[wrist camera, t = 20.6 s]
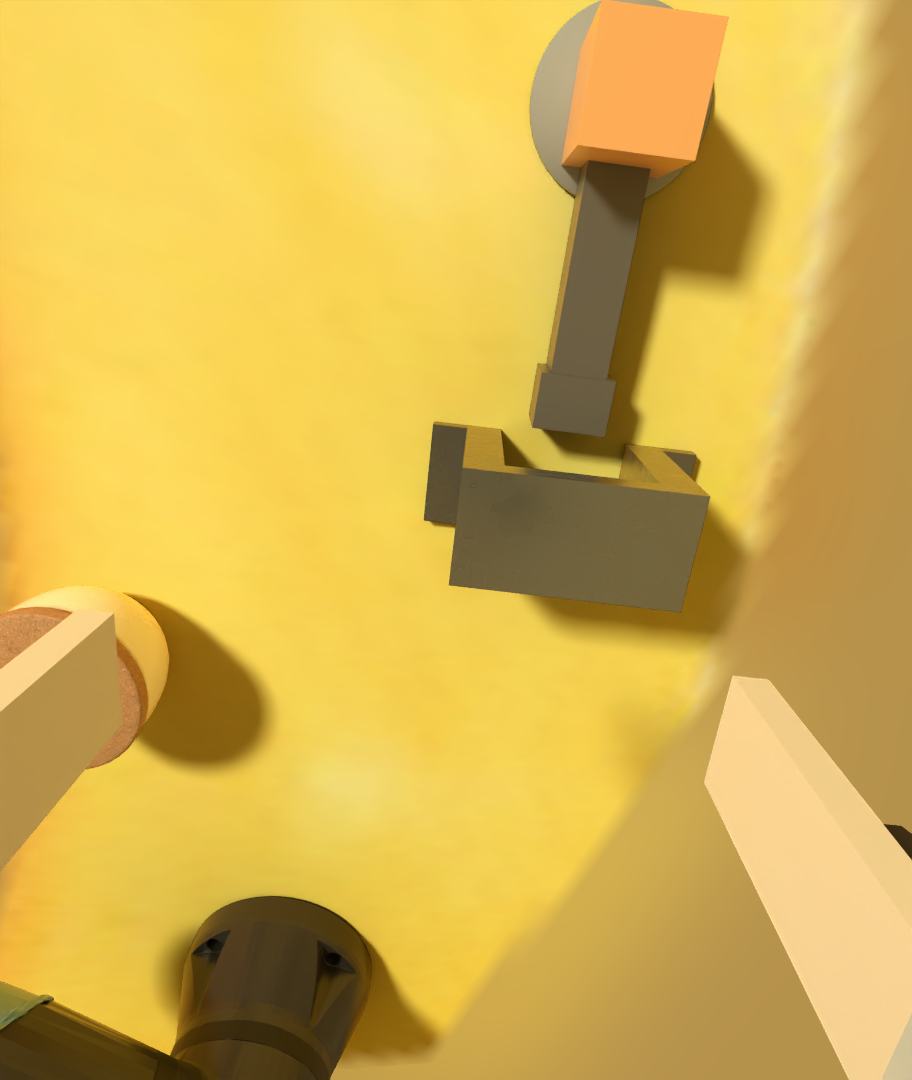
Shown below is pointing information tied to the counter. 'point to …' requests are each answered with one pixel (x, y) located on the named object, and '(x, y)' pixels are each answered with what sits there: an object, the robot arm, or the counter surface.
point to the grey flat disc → (556, 98)
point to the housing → (566, 522)
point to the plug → (618, 186)
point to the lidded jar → (135, 642)
